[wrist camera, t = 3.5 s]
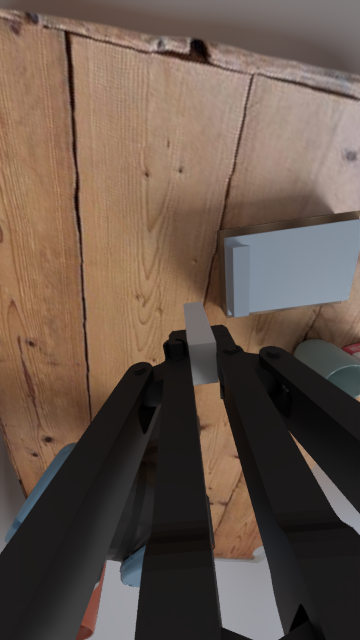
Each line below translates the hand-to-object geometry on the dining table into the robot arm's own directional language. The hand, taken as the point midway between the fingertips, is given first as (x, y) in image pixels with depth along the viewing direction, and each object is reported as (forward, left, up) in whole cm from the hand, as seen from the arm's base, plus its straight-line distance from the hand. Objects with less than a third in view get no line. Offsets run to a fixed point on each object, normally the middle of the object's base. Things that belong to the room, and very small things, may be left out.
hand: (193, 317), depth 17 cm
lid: (+15, 0, -13) cm, 20 cm away
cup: (+23, -18, -18) cm, 34 cm away
